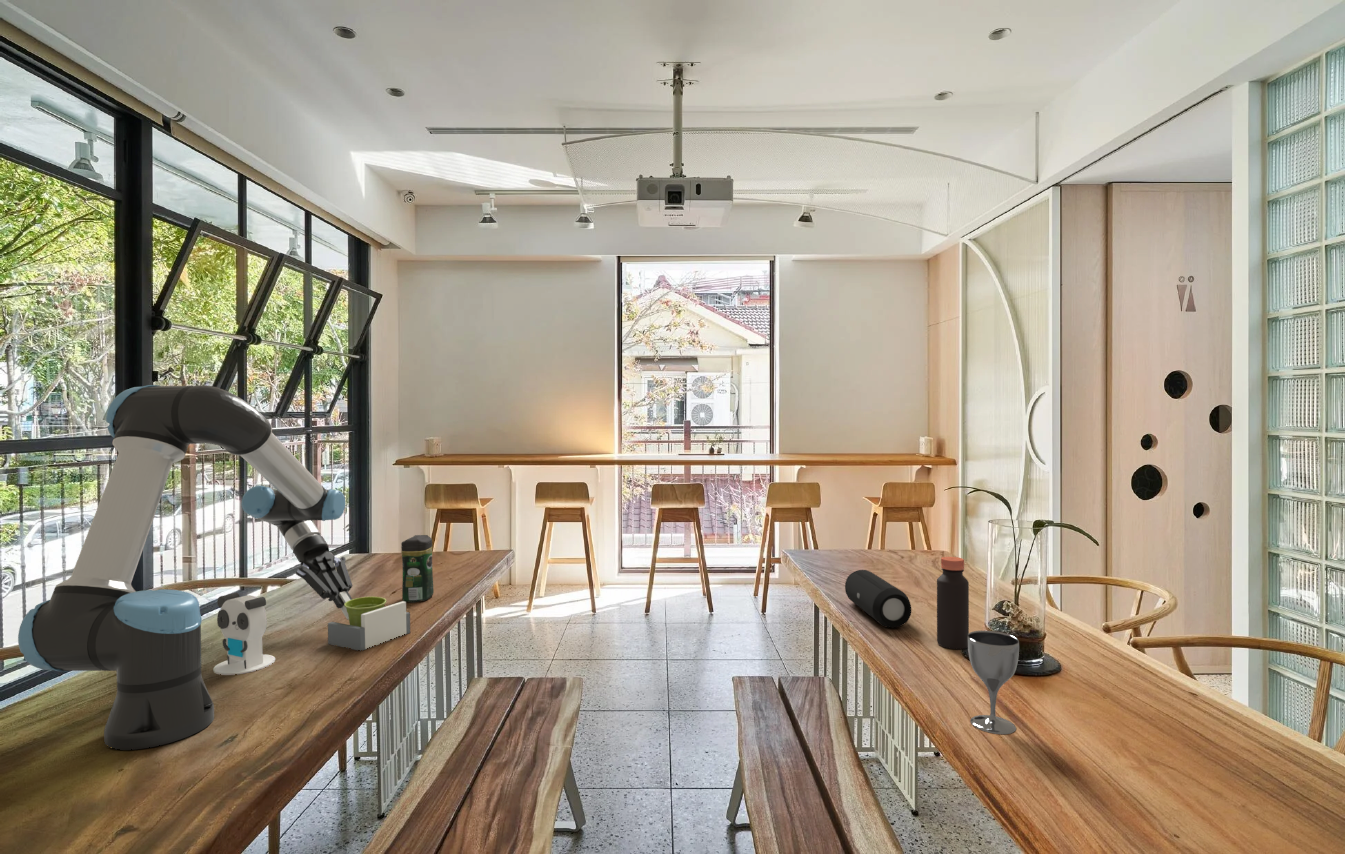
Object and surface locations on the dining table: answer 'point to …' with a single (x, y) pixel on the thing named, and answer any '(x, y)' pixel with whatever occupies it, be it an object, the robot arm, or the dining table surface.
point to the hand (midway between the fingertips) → (352, 615)
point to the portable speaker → (878, 598)
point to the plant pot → (362, 608)
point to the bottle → (952, 605)
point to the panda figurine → (242, 634)
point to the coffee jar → (417, 568)
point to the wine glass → (993, 672)
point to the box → (371, 628)
